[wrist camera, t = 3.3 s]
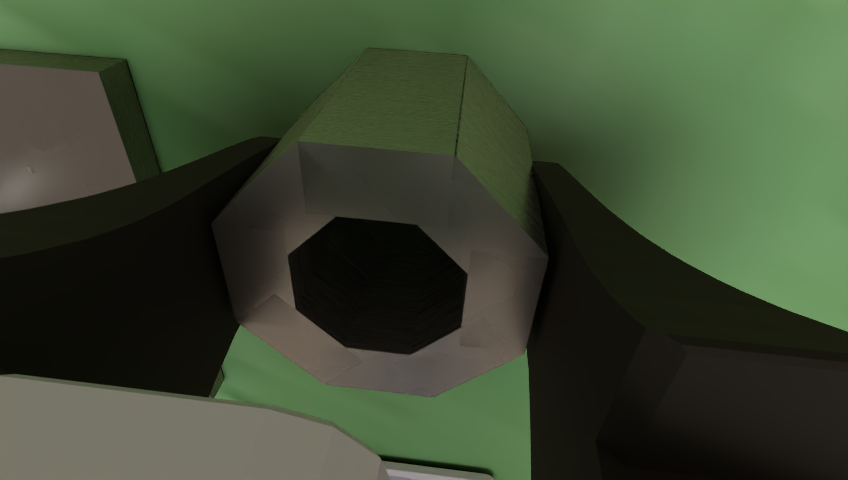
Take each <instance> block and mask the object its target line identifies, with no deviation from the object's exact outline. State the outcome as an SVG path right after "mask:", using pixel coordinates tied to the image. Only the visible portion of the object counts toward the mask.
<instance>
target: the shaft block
mask: <svg viewBox="0 0 848 480" xmlns="http://www.w3.org/2000/svg"><path fill="white" fill-rule="evenodd" d="M159 174H161V173H160V170H159V167H158V163H157V160H156V157H155V154H154V150H153V147H152V144H151V141H150V137H149V134H148V131H147V128H146V125H145V121H144V118H143V115H142V112H141V108H140V105H139V102H138V99H137V95H136V92H135V89H134V86H133V83H132V79H131V76H130V73H129V70H128V66H127V63H126V60H125V59H112V58H100V57H88V56H76V55H63V54H51V53H39V52H27V51H14V50H2V49H0V214H1V213H7V212H13V211H19V210H25V209H31V208H35V207H40V206H45V205H50V204H54V203H59V202H64V201H68V200H73V199H78V198H82V197H87V196H91V195H95V194H98V193H102V192H105V191H109V190H113V189H116V188H120V187H123V186H126V185H130V184H133V183H136V182H139V181H142V180H145V179H148V178H151V177H153V176H156V175H159ZM223 381H224V377H223V373H222V370H221V368H220V371H219V373H218V376H217V378H216V381H215V383H214V386H213V388H212V391H211V393H210V396H209V398H214V397H215V396H216V394H217V392H218V390H219V388H220V386H221V384H222V383H223Z"/></svg>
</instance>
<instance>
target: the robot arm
mask: <svg viewBox="0 0 848 480" xmlns="http://www.w3.org/2000/svg"><path fill="white" fill-rule="evenodd" d="M281 139H282V138H272V137H257V138H253V139H249V140H246V141H243V142H241V143H238V144H235V145H233V146H230V147H228V148H225V149H223V150H220V151H218V152H215V153H213V154H211V155H208V156H206V157H203V158H201V159H198V160H196V161H193V162H191V163H188V164H186V165H183V166H180V167H178V168H175V169H172V170H170V171H167V172H164V173H162V174H159V175H156V176H153V177H151V178H148V179H145V180H142V181H139V182H136V183H133V184H130V185H126V186H123V187H120V188H116V189H113V190H109V191H105V192H102V193H98V194H95V195H91V196H87V197H82V198H78V199H73V200H68V201H64V202H59V203H54V204H50V205H45V206H40V207H35V208H31V209H25V210H19V211H13V212H7V213H1V214H0V480H494V479H493V477H491V476H490V475H487V474H483V473H475V472H467V471H459V470H451V469H443V468H436V467H428V466H420V465H412V464H404V463H396V462H388V461H382V460H381V458H380V457H379V456H378V455H377V454H376V453H375V451H374V450H373V449H372V448H370V447H369V446H367V445H366V444H364V443H363V442H361V441H360V440H358V439H357V438H355V437H354V436H352V435H351V434H349V433H348V432H346V431H345V430H343V429H342V428H340V427H339V426H338V425H336V424H335V423H333V422H332V421H328V420H324V419H321V418H317V417H314V416H310V415H306V414H303V413H299V412H296V411H292V410H288V409H285V408H281V407H278V406H273V405H265V404H256V403H248V402H240V401H232V400H224V399H216V398H209V396H210V393H211V391H212V388H213V386H214V383H215V381H216V378H217V376H218V373H219V371H220V368H221V366H222V364H223V361H224V359H225V357H226V354H227V352H228V350H229V347H230V345H231V343H232V340H233V338H234V336H235V334H236V332H237V330H238V328H239V326H240V324H239V323H237V321H236V319H235V315H234V311H233V307H232V303H231V299H230V296H229V292H228V288H227V284H226V280H225V276H224V272H223V268H222V265H221V261H220V257H219V253H218V249H217V245H216V241H215V237H214V234H213V230H212V226H211V224H212V222H213V221H214V219H215V218H216V217H217V216H218V215H219V213H220V212H221V211H222V210H223V209H224V207H225V206H226V205H227V204H228V203H229V201H230V200H231V199H232V198H233V197H234V195H235V194H236V193H237V192H238V191H239V189H240V188H241V187H242V186H243V185H244V183H245V182H246V181H247V180H248V178H249V177H250V176H251V175H252V174H253V172H254V171H255V170H256V169H257V168H258V166H259V165H260V164H261V163H262V162H263V160H264V159H265V158H266V157H267V156H268V154H269V153H270V152H271V151H272V150H273V148H274V147H275V146H276V145H277V144H278V142H279V141H280V140H281ZM532 165H533V171H534V177H535V182H536V187H537V193H538V199H539V205H540V211H541V216H542V222H543V228H544V234H545V240H546V246H547V252H548V258H549V259H548V263H547V267H546V271H545V275H544V279H543V283H542V287H541V291H540V294H539V298H538V302H537V306H536V310H535V314H534V318H533V322H532V326H531V330H530V334H529V338H528V342H527V346H526V348H527V357H528V367H529V392H530V429H531V480H848V332H847V331H844V330H841V329H838V328H836V327H833V326H830V325H827V324H824V323H821V322H819V321H816V320H813V319H810V318H807V317H805V316H802V315H799V314H796V313H793V312H790V311H788V310H785V309H783V308H780V307H778V306H776V305H773V304H771V303H769V302H766V301H764V300H761V299H759V298H757V297H754V296H752V295H750V294H747V293H745V292H743V291H741V290H738V289H736V288H734V287H732V286H730V285H728V284H726V283H723V282H721V281H719V280H717V279H715V278H713V277H712V276H710V275H708V274H706V273H704V272H702V271H700V270H698V269H696V268H694V267H693V266H691V265H689V264H687V263H685V262H683V261H682V260H680V259H678V258H676V257H675V256H673V255H671V254H670V253H668V252H667V251H665V250H664V249H662V248H660V247H659V246H657V245H656V244H654V243H653V242H651V241H650V240H648V239H646V238H645V237H644V236H642V235H641V234H639V233H638V232H637V231H635V230H634V229H632V228H631V227H630V226H629V225H627V224H626V223H625V222H624V221H622V220H621V219H620V218H618V217H617V216H616V215H615V214H613V213H612V212H611V211H610V210H609V209H607V208H606V207H605V206H604V205H603V204H602V203H601V202H599V201H598V200H597V199H596V198H595V197H594V196H593V195H592V194H591V193H590V192H588V191H587V190H586V189H585V188H584V187H583V186H582V185H581V184H580V183H579V182H578V181H577V180H576V179H575V178H574V177H573V176H572V175H571V174H570V173H568V172H567V171H566V170H565V169H564V168H563V167H562V166H561V165H559V164H558V163H551V162H540V161H532Z"/></svg>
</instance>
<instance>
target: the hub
mask: <svg viewBox="0 0 848 480" xmlns="http://www.w3.org/2000/svg"><path fill="white" fill-rule="evenodd" d="M466 57H467V56H466V55H453V54H440V53H427V52H414V51H401V50H389V49H376V48H368V49H366V50H365V51H364V52H363V53H362V54H361V55H360V56H359V57H358V58H357V59H356V60H355V61H354V62H353V63H352V64H351V65H350V66H349V67H348V68H347V69H346V70H345V71H344V72H343V73H342V74H341V75H340V76H339V77H338V78H337V79H336V80H335V81H334V82H333V83H332V84H331V85H330V86H329V87H328V88H327V89H326V90H325V91H324V92H323V93H322V94H321V95H320V96H319V97H318V98H317V99H316V100H315V101H314V102H313V103H312V104H311V105H310V106H309V107H308V108H307V109H306V110H305V111H304V112H303V114H302V115H301V116H300V117H299V118H298V120H297V121H296V122H295V123H294V124H293V126H292V127H291V128H290V129H289V130H288V132H287V133H286V134H285V135H284V136H283V138H282V139H281V140H280V141H279V142H278V144H277V145H276V146H275V147H274V148H273V150H272V151H271V152H270V153H269V154H268V156H267V157H266V158H265V159H264V160H263V162H262V163H261V164H260V165H259V166H258V168H257V169H256V170H255V171H254V172H253V174H252V175H251V176H250V177H249V178H248V180H247V181H246V182H245V183H244V185H243V186H242V187H241V188H240V189H239V191H238V192H237V193H236V194H235V195H234V197H233V198H232V199H231V200H230V201H229V203H228V204H227V205H226V206H225V207H224V209H223V210H222V211H221V212H220V213H219V215H218V216H217V217H216V218H215V219H214V221H213V222H212V224H211V226H212V230H213V234H214V237H215V241H216V245H217V249H218V253H219V257H220V261H221V265H222V268H223V272H224V276H225V280H226V284H227V288H228V292H229V296H230V299H231V303H232V307H233V311H234V315H235V319H236V321H237V323H239V324H240V325H242V326H243V327H244V328H246V329H247V330H249V331H250V332H251V333H253V334H254V335H256V336H257V337H259V338H260V339H261V340H263V341H264V342H266V343H267V344H268V345H270V346H271V347H273V348H274V349H275V350H277V351H278V352H280V353H281V354H283V355H284V356H285V357H287V358H288V359H290V360H291V361H292V362H294V363H295V364H297V365H298V366H299V367H301V368H302V369H304V370H305V371H307V372H308V373H309V374H311V375H312V376H314V377H315V378H316V379H318V380H319V381H321V382H322V383H324V384H325V383H326V385H334V386H342V387H351V388H359V389H367V390H376V391H384V392H392V393H401V394H409V395H418V396H426V397H432V396H433V397H435V396H437V395H439V394H441V393H443V392H445V391H447V390H449V389H452V388H454V387H456V386H458V385H460V384H462V383H464V382H466V381H469V380H471V379H473V378H475V377H477V376H479V375H481V374H483V373H486V372H488V371H490V370H492V369H494V368H496V367H498V366H500V365H503V364H505V363H507V362H509V361H511V360H513V359H515V358H517V357H519V356H522V355H523V353H524V354H525V350H526V346H527V342H528V338H529V334H530V330H531V326H532V322H533V318H534V314H535V310H536V306H537V302H538V298H539V294H540V291H541V287H542V283H543V279H544V275H545V271H546V267H547V263H548V259H549V258H548V252H547V246H546V240H545V234H544V228H543V222H542V216H541V211H540V205H539V199H538V193H537V187H536V182H535V177H534V171H533V165H532V157H531V151H530V145H529V139H528V133H527V129H526V127H525V126H524V125H523V124H522V122H521V121H520V120H519V119H518V117H517V116H516V115H515V114H514V113H513V111H512V110H511V109H510V108H509V106H508V105H507V104H506V103H505V101H504V100H503V99H502V98H501V96H500V95H499V94H498V93H497V92H496V90H495V89H494V88H493V87H492V85H491V84H490V83H489V82H488V80H487V79H486V78H485V77H484V75H483V74H482V73H481V72H480V71H479V69H478V68H477V67H476V66H475V64H474V63H473V62H472V61H471V59H470V58H469V57H467V58H466Z"/></svg>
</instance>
